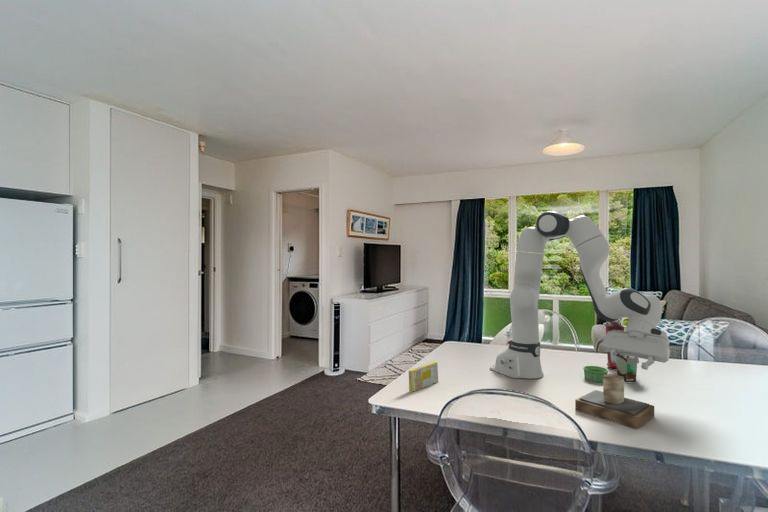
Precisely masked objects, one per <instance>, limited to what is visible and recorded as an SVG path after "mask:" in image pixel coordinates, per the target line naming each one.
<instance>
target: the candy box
mask: <svg viewBox="0 0 768 512" xmlns="http://www.w3.org/2000/svg"><path fill="white" fill-rule="evenodd" d="M438 365H439V364H438V362H437V361H433V362H431V363H427V364H424V365H421V366H418V367H416V368H412V369H410V370H408V389H409V391H411V392H410V393H414V392H413V391H415V392H417V391H416V390H418V391H420V390H422V389H421V388H423V389H424V387H425V388H427V387H426V386H428V387H430V386H432V385H431V384H433V383H435V384H437V383H436V382H438V383H439V371H438V370H439V369H438V368H439V366H438ZM429 385H430V386H429ZM433 385H434V384H433ZM419 389H420V390H419Z"/></svg>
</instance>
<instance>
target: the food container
mask: <svg viewBox="0 0 768 512" xmlns="http://www.w3.org/2000/svg"><path fill="white" fill-rule="evenodd" d="M615 356H616V357H617V359H618V361H617V363H616V367H617V370H616V375H618V376H623V377H624V383H626V382H634V383H636V382H637V372H638V371H637V370H638V369H637V368H638V364H639V363H640V360H639V359H640V358H637V357H632V356H627V355H622V354H617V355H615ZM635 381H636V382H635Z"/></svg>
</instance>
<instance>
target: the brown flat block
mask: <svg viewBox="0 0 768 512" xmlns="http://www.w3.org/2000/svg"><path fill="white" fill-rule="evenodd" d="M574 407H575V409H574V410H575V411H576V412H580V413H583V414H586V415H590V416H593V417H597V418H600V419H603V420H605V419H606V421H608V420H609V422H611V421H612V423H614V424H618V425H622V426H624V427H627V426H628V428H630V429H633V430H639V429H640V428H641V427H643V426H645V424H647V423H648V422H650V421H651V420H652V419H653V418H655V405H653V404H650V403H646V402H643V401H639V400H637V399H636V400H635V399H631V398H627V397H624V402H622V403H621V404H619V405H617V404H614V403H610V402H606V401H604V396H603V391H600V390H597V389H596V390H592V391H590V392H588V393H586V394H584V395H581V396H579V397H578V398H576V399H575V405H574Z"/></svg>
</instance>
